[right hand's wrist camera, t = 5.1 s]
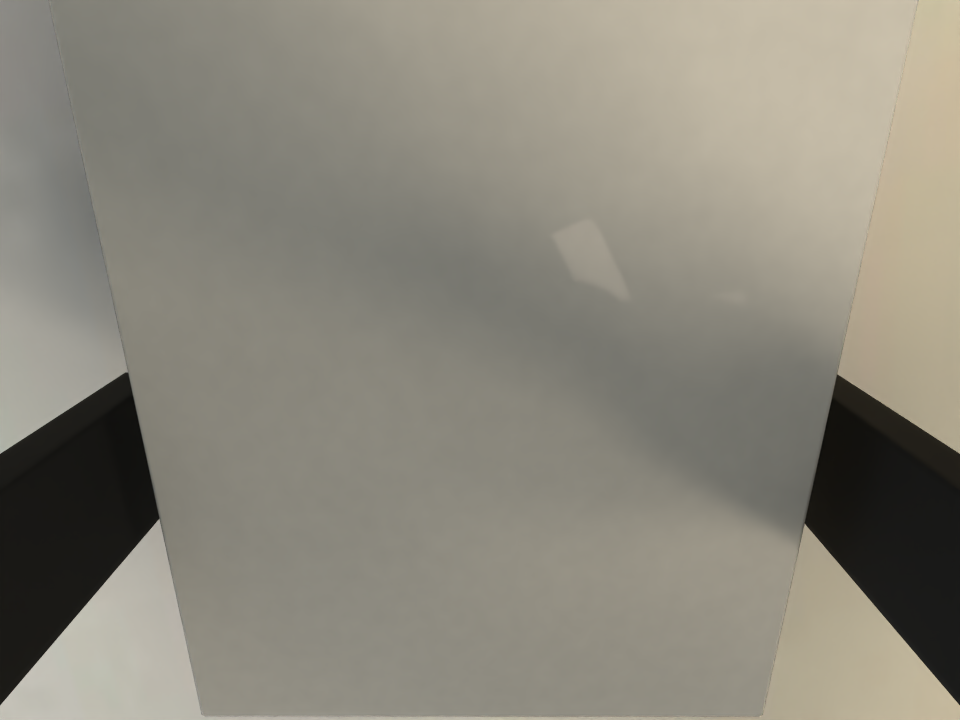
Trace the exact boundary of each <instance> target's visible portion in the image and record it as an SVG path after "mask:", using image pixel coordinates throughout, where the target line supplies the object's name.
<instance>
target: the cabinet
mask: <svg viewBox="0 0 960 720" xmlns="http://www.w3.org/2000/svg"><path fill="white" fill-rule="evenodd" d="M48 1H49V5H50V10H51V15H52V19H53V24H54V29H55V33H56V38H57V43H58V47H59V52H60V57H61V61H62V66H63V71H64V75H65V80H66V85H67V89H68V94H69V99H70V103H71V108H72V113H73V117H74V122H75V127H76V131H77V136H78V141H79V145H80V150H81V155H82V159H83V164H84V169H85V173H86V178H87V182H88V187H89V192H90V196H91V201H92V206H93V210H94V215H95V220H96V224H97V229H98V234H99V238H100V243H101V248H102V252H103V257H104V262H105V266H106V271H107V276H108V280H109V285H110V290H111V294H112V299H113V304H114V308H115V313H116V318H117V322H118V327H119V332H120V336H121V341H122V345H123V350H124V355H125V359H126V364H127V369H128V373H129V378H130V383H131V387H132V392H133V397H134V401H135V406H136V411H137V415H138V420H139V425H140V429H141V434H142V439H143V443H144V448H145V453H146V457H147V462H148V467H149V471H150V476H151V481H152V485H153V490H154V495H155V499H156V504H157V509H158V513H159V518H160V522H161V527H162V532H163V536H164V541H165V546H166V550H167V555H168V560H169V564H170V569H171V574H172V578H173V583H174V588H175V592H176V597H177V602H178V606H179V611H180V616H181V620H182V625H183V630H184V634H185V639H186V644H187V648H188V653H189V658H190V662H191V667H192V672H193V676H194V681H195V686H196V690H197V695H198V699H199V704H200V709H201V713H202V715H203V716H358V717H760V716H762V715H763V711H764V707H765V702H766V698H767V693H768V688H769V684H770V679H771V675H772V670H773V665H774V661H775V656H776V652H777V647H778V643H779V638H780V633H781V629H782V624H783V620H784V615H785V610H786V606H787V601H788V597H789V592H790V588H791V583H792V578H793V574H794V569H795V565H796V560H797V555H798V551H799V546H800V542H801V537H802V533H803V528H804V523H805V519H806V514H807V510H808V505H809V500H810V496H811V491H812V487H813V482H814V478H815V473H816V468H817V464H818V459H819V455H820V450H821V445H822V441H823V436H824V432H825V427H826V423H827V418H828V413H829V409H830V404H831V400H832V395H833V390H834V386H835V381H836V377H837V372H838V368H839V363H840V358H841V354H842V349H843V345H844V340H845V335H846V331H847V326H848V322H849V317H850V313H851V308H852V303H853V299H854V294H855V290H856V285H857V280H858V276H859V271H860V267H861V262H862V258H863V253H864V248H865V244H866V239H867V235H868V230H869V225H870V221H871V216H872V212H873V207H874V202H875V198H876V193H877V189H878V184H879V180H880V175H881V170H882V166H883V161H884V157H885V152H886V147H887V143H888V138H889V134H890V129H891V125H892V120H893V115H894V111H895V106H896V102H897V97H898V92H899V88H900V83H901V79H902V74H903V70H904V65H905V60H906V56H907V51H908V47H909V42H910V37H911V33H912V28H913V24H914V19H915V15H916V10H917V5H918V1H919V0H48Z"/></svg>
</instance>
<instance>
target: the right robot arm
mask: <svg viewBox="0 0 960 720" xmlns="http://www.w3.org/2000/svg"><path fill="white" fill-rule="evenodd" d="M158 520H159V513H158V509H157V504H156V499H155V495H154V490H153V485H152V481H151V476H150V471H149V467H148V462H147V457H146V453H145V448H144V443H143V439H142V434H141V429H140V425H139V420H138V415H137V411H136V406H135V401H134V397H133V392H132V387H131V383H130V378H129V373H124V374H123V375H121V376H120V377H118V378H116V379H115V380H113V381H112V382H110V383H109V384H107V385H106V386H104V387H103V388H101V389H100V390H98V391H96V392H95V393H93V394H92V395H90V396H89V397H87V398H86V399H84V400H83V401H81V402H79V403H78V404H76V405H75V406H73V407H72V408H70V409H69V410H67V411H66V412H64V413H63V414H61V415H59V416H58V417H56V418H55V419H53V420H52V421H50V422H49V423H47V424H46V425H44V426H43V427H41V428H39V429H38V430H36V431H35V432H33V433H32V434H30V435H29V436H27V437H26V438H24V439H22V440H21V441H19V442H18V443H16V444H15V445H13V446H12V447H10V448H9V449H7V450H6V451H4V452H2V453H1V454H0V705H1V704H2V702H3V701H4V700H5V699H6V698H7V697H8V695H9V694H10V693H11V692H12V691H13V690H14V688H15V687H16V686H17V685H18V684H19V683H20V681H21V680H22V679H23V678H24V677H25V675H26V674H27V673H28V672H29V671H30V670H31V668H32V667H33V666H34V665H35V664H36V663H37V661H38V660H39V659H40V658H41V657H42V656H43V654H44V653H45V652H46V651H47V650H48V649H49V647H50V646H51V645H52V644H53V643H54V641H55V640H56V639H57V638H58V637H59V636H60V634H61V633H62V632H63V631H64V630H65V629H66V627H67V626H68V625H69V624H70V623H71V622H72V620H73V619H74V618H75V617H76V616H77V615H78V613H79V612H80V611H81V610H82V609H83V607H84V606H85V605H86V604H87V603H88V602H89V600H90V599H91V598H92V597H93V596H94V595H95V593H96V592H97V591H98V590H99V589H100V588H101V586H102V585H103V584H104V583H105V582H106V581H107V579H108V578H109V577H110V576H111V575H112V573H113V572H114V571H115V570H116V569H117V568H118V566H119V565H120V564H121V563H122V562H123V561H124V559H125V558H126V557H127V556H128V555H129V554H130V552H131V551H132V550H133V549H134V548H135V547H136V545H137V544H138V543H139V542H140V541H141V539H142V538H143V537H144V536H145V535H146V534H147V532H148V531H149V530H150V529H151V528H152V527H153V525H154V524H155V523H156V522H157V521H158ZM805 524H806V525H807V527H808V528H809V529H810V530H811V531H812V532H813V534H814V535H815V536H816V537H817V538H818V539H819V541H820V542H821V543H822V544H823V545H824V547H825V548H826V549H827V550H828V551H829V552H830V554H831V555H832V556H833V557H834V558H835V559H836V561H837V562H838V563H839V564H840V565H841V566H842V568H843V569H844V570H845V571H846V572H847V573H848V575H849V576H850V577H851V578H852V579H853V581H854V582H855V583H856V584H857V585H858V586H859V588H860V589H861V590H862V591H863V592H864V593H865V595H866V596H867V597H868V598H869V599H870V600H871V602H872V603H873V604H874V605H875V606H876V607H877V609H878V610H879V611H880V612H881V613H882V615H883V616H884V617H885V618H886V619H887V620H888V622H889V623H890V624H891V625H892V626H893V627H894V629H895V630H896V631H897V632H898V633H899V634H900V636H901V637H902V638H903V639H904V640H905V641H906V643H907V644H908V645H909V646H910V647H911V649H912V650H913V651H914V652H915V653H916V654H917V656H918V657H919V658H920V659H921V660H922V661H923V663H924V664H925V665H926V666H927V667H928V668H929V670H930V671H931V672H932V673H933V674H934V675H935V677H936V678H937V679H938V680H939V681H940V683H941V684H942V685H943V686H944V687H945V688H946V690H947V691H948V692H949V693H950V694H951V695H952V697H953V698H954V699H955V700H956V701H957V702H958V704H959V705H960V454H959V453H958V452H956V451H954V450H953V449H951V448H950V447H948V446H947V445H945V444H944V443H942V442H941V441H939V440H938V439H936V438H934V437H933V436H931V435H930V434H928V433H927V432H925V431H924V430H922V429H921V428H919V427H917V426H916V425H914V424H913V423H911V422H910V421H908V420H907V419H905V418H904V417H902V416H901V415H899V414H897V413H896V412H894V411H893V410H891V409H890V408H888V407H887V406H885V405H884V404H882V403H881V402H879V401H877V400H876V399H874V398H873V397H871V396H870V395H868V394H867V393H865V392H864V391H862V390H860V389H859V388H857V387H856V386H854V385H853V384H851V383H850V382H848V381H847V380H845V379H844V378H842V377H840V376H839V375H837V377H836V381H835V386H834V390H833V395H832V400H831V404H830V409H829V413H828V418H827V423H826V427H825V432H824V436H823V441H822V445H821V450H820V455H819V459H818V464H817V468H816V473H815V478H814V482H813V487H812V491H811V496H810V500H809V505H808V510H807V514H806V519H805Z"/></svg>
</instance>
